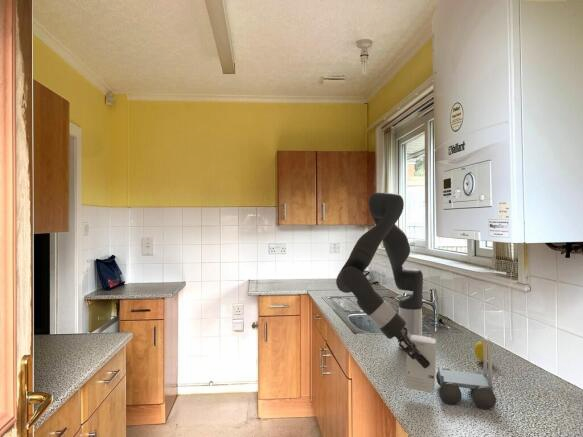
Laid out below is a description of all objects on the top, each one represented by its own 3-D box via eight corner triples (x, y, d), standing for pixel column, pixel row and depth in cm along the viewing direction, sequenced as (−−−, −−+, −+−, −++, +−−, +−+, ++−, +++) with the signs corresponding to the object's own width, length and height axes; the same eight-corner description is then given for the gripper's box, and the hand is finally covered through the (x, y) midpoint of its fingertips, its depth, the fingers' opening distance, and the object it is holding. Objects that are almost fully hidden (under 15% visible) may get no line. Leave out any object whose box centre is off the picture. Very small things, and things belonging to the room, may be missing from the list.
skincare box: (405, 388, 111) (405, 339, 111) (407, 380, 117) (407, 333, 116) (435, 394, 108) (435, 343, 108) (436, 385, 113) (436, 336, 113)
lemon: (482, 365, 138) (482, 344, 138) (471, 360, 143) (471, 339, 143) (494, 363, 139) (494, 342, 139) (483, 358, 144) (483, 338, 144)
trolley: (436, 385, 122) (436, 329, 121) (487, 391, 117) (486, 333, 117) (439, 403, 110) (439, 341, 110) (496, 410, 106) (496, 345, 105)
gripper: (395, 317, 107) (438, 363, 104) (396, 306, 121) (434, 346, 118) (376, 334, 109) (418, 379, 105) (379, 320, 123) (416, 360, 119)
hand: (426, 361), depth 112 cm, fingers closed on skincare box, 6 cm apart
